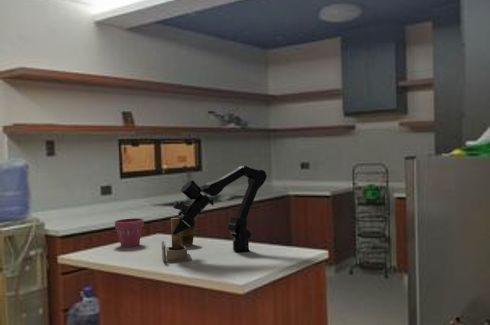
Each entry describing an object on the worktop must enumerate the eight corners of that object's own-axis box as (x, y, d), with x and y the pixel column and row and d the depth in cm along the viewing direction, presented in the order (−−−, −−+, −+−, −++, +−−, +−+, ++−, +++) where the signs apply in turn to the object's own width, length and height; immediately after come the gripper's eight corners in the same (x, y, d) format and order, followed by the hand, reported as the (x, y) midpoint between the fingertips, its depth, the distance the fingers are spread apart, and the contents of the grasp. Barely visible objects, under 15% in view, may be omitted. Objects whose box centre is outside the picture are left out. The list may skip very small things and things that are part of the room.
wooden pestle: (180, 247, 210) (179, 217, 210) (181, 248, 207) (180, 218, 206) (171, 247, 210) (170, 218, 209) (172, 249, 206) (171, 219, 205)
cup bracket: (189, 255, 215) (188, 239, 215) (192, 260, 204) (191, 244, 203) (162, 257, 213) (161, 241, 212) (163, 263, 201) (163, 246, 201)
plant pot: (110, 245, 244) (109, 220, 244) (135, 241, 254) (134, 217, 253) (124, 249, 234) (123, 222, 233) (149, 244, 243) (148, 219, 243)
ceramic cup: (185, 242, 246) (184, 223, 246) (200, 244, 240) (199, 224, 240) (167, 247, 235) (166, 226, 235) (182, 249, 230) (181, 228, 229)
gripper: (181, 192, 218) (157, 218, 215) (186, 195, 199) (160, 224, 197) (199, 208, 219) (176, 234, 217) (205, 213, 201) (180, 241, 199)
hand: (173, 233), depth 208 cm, fingers closed on wooden pestle, 4 cm apart
